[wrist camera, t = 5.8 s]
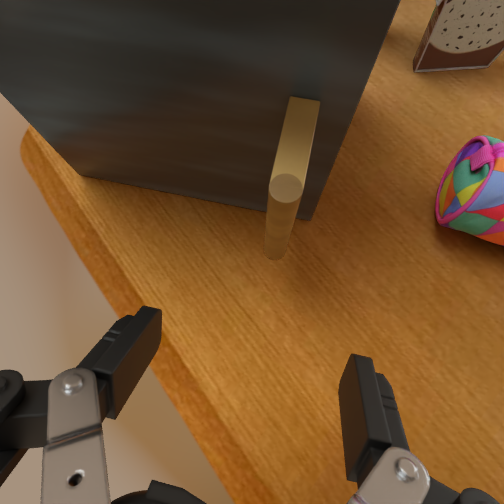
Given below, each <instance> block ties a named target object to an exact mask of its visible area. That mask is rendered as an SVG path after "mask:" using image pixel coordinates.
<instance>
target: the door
mask: <svg viewBox="0 0 504 504" xmlns="http://www.w3.org/2000/svg"><path fill="white" fill-rule="evenodd" d="M399 3H400V0H0V93H1V94H2V95H3V96H4V97H5V98H6V99H7V100H8V101H9V102H10V103H11V104H12V105H13V106H14V107H15V108H16V109H17V110H18V111H19V113H20V114H21V115H22V116H23V117H24V118H25V119H26V120H27V121H28V122H29V123H30V124H31V125H32V126H33V127H34V128H35V129H36V130H37V131H38V132H39V133H40V134H41V136H42V137H43V138H44V139H45V140H46V141H47V142H48V143H49V144H50V145H51V146H52V147H53V148H54V149H55V150H56V151H57V152H58V153H59V154H60V155H61V156H62V157H63V158H64V160H65V161H66V162H67V163H68V164H69V165H70V166H71V167H72V168H73V169H74V170H75V171H76V172H77V173H78V174H79V175H83V176H88V177H93V178H98V179H103V180H108V181H113V182H118V183H123V184H128V185H133V186H138V187H143V188H148V189H153V190H158V191H163V192H168V193H173V194H178V195H183V196H188V197H193V198H198V199H203V200H208V201H213V202H218V203H223V204H228V205H233V206H238V207H243V208H248V209H253V210H258V211H263V212H267V213H266V225H265V237H264V254H265V256H266V257H267V258H269V259H271V260H279V259H281V258H282V257H283V256H284V254H285V251H286V248H287V245H288V241H289V238H290V234H291V231H292V228H293V224H294V221H295V218H299V219H304V220H309V221H310V220H311V218H312V216H313V213H314V211H315V208H316V206H317V204H318V201H319V199H320V196H321V194H322V191H323V189H324V186H325V184H326V182H327V179H328V177H329V174H330V172H331V169H332V167H333V164H334V162H335V159H336V157H337V155H338V152H339V150H340V147H341V145H342V142H343V140H344V137H345V135H346V133H347V130H348V128H349V125H350V123H351V120H352V118H353V115H354V113H355V111H356V108H357V106H358V103H359V101H360V98H361V96H362V93H363V91H364V89H365V86H366V84H367V81H368V79H369V76H370V74H371V71H372V69H373V67H374V64H375V62H376V59H377V57H378V54H379V52H380V49H381V47H382V44H383V42H384V40H385V37H386V35H387V32H388V30H389V27H390V25H391V22H392V20H393V18H394V15H395V13H396V10H397V8H398V5H399Z"/></svg>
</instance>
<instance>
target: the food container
mask: <svg viewBox="0 0 504 504" xmlns="http://www.w3.org/2000/svg"><path fill="white" fill-rule="evenodd" d="M436 3H437V4H436V7H435V9H434V11H433V14H432V16H431V19H430V21H429V23H428V26H427V28H426V31H425V33H424V35H423V38H422V40H421V43H420V45H419V47H418V50H417V52H416V55H415V57H414V60H413V69H414V72H429V71H445V70H461V69H477V68H488V67H489V66H490V65H491V64H492V63H493V61H494V60H495V59H496V58H497V57H498V56H499V55H500V54H501V53H502V52H503V50H504V0H436Z"/></svg>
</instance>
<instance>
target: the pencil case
mask: <svg viewBox="0 0 504 504" xmlns="http://www.w3.org/2000/svg"><path fill="white" fill-rule="evenodd" d="M435 212H436V219H437V221H438V223H439V224H440V225H441V226H444V227H448V228H451V229H454V230H460V231H463V232H466V233H469V234H471V235H474V236H476V237H478V238H481V239H483V240H486V241H489V242H492V243H495V244H499V245H502V246H504V142H503V141H501V140H499V139H496V138H493V137H490V136H485V135H483V136H477V137H474V138H472V139H471V140H470V141H469V142H467V143H466V144H465V145H464V146H463V147H462V149H461V150H460V151H459V152H458V153H457V155H456V156H455V157H454V159H453V160H452V161H451V163H450V164H449V166H448V168H447V169H446V171H445V173H444V175H443V177H442V179H441V182H440V185H439V188H438V192H437V198H436V205H435Z"/></svg>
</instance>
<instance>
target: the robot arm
mask: <svg viewBox="0 0 504 504" xmlns="http://www.w3.org/2000/svg"><path fill="white" fill-rule="evenodd" d="M161 329H162V311H161V309H157V308H152V307H148V306H142V307H141V308H140V310H139V311H138V312H137V313H136V314H135V316H132V315H126V316H125V317H123V318H121V319H119V320H118V321H116V322H115V323H114V325H113V326H112V327H111V328H110V329H109V331H108V332H107V333H106V334H105V335H104V336H103V338H102V339H101V340H100V341H99V342H98V343H97V344H96V345H95V346H94V348H93V349H92V350H91V351H90V352H89V353H88V355H87V356H86V357H85V358H84V359H83V360H82V361H81V362H80V364H79V365H78V366H77V367H76V368H72V369H68V370H66V371H64V372H62V373H60V374H59V375H58V376H56V377H55V378H54V379H52V380H42V381H41V380H40V381H24V380H23V377H22V375H21V374H20V373H19V372H17V371H14V370H1V371H0V487H1V486H2V484H3V483H4V481H5V480H6V479H7V477H8V476H9V474H10V473H11V472H12V471H13V469H14V468H15V467H16V465H17V464H18V462H19V461H20V460H21V458H22V457H23V456H24V454H25V453H26V452H27V450H28V449H29V448H38V447H43V459H42V484H41V504H206V503H205V502H203V501H202V500H200V499H199V498H197V497H196V496H194V495H192V494H191V493H189V492H188V491H186V490H185V489H183V488H180V487H176V486H173V485H169V484H165V483H162V482H158V481H155V480H152V481H151V483H150V485H149V488H148V490H144V491H138V492H133V493H129V494H126V495H124V496H121V497H119V498H117V499H115V500H114V501H112V502H111V500H110V493H109V483H108V476H107V475H108V474H107V466H106V458H105V448H104V440H103V431H102V422H103V420H104V419H105V417H107V418H111V419H114V420H115V419H116V418H117V416H118V415H119V413H120V411H121V410H122V408H123V406H124V405H125V403H126V401H127V400H128V398H129V396H130V395H131V393H132V391H133V390H134V388H135V386H136V385H137V383H138V382H139V380H140V378H141V377H142V375H143V373H144V372H145V370H146V368H147V367H148V365H149V364H150V362H151V360H152V359H153V357H154V355H155V354H156V352H157V350H158V348H159V345H160V341H161ZM338 394H339V405H340V416H341V426H342V436H343V446H344V456H345V467H346V477H347V480H349V481H353V482H357V485H358V491H357V492H356V493H355V494H354V495H353V496H352V497H351V498H350V500H349V501H348V503H347V504H500V503H498V502H497V501H496V500H495V499H494V498H493V497H491V496H490V495H489V494H487V493H485V492H483V491H481V490H479V489H476V488H466V489H465V490H463V491H462V492H461V494H459V493H458V492H456V491H454V490H452V489H451V488H449V487H447V486H445V485H444V484H442V483H440V482H438V481H437V480H435V479H433V478H432V477H430V476H429V474H428V472H427V470H426V468H425V466H424V465H423V464H422V462H421V461H420V460H419V459H418V458H417V457H416V456H415V455H414V454H412V453H411V452H410V450H409V446H408V443H407V439H406V436H405V432H404V429H403V425H402V422H401V418H400V415H399V411H397V409H398V408H397V404H396V401H395V397H394V394H393V390H392V387H391V385H390V384H389V382H388V381H387V379H386V378H385V376H384V375H383V374H380V373H376V372H375V369H374V365H373V361H372V359H371V358H370V357H365V356H361V355H357V354H351V355H350V357H349V359H348V362H347V364H346V367H345V369H344V372H343V374H342V377H341V380H340V383H339V392H338Z"/></svg>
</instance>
